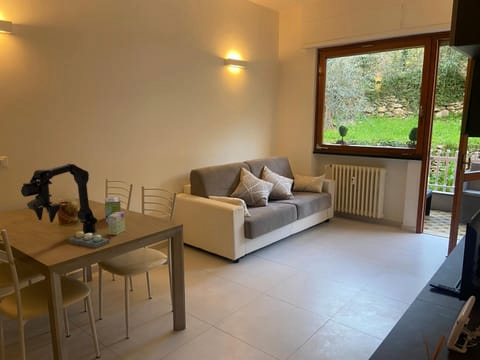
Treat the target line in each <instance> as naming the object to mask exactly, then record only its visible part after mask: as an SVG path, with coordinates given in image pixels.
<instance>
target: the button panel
mask: <svg viewBox="0 0 480 360" xmlns="http://www.w3.org/2000/svg"><path fill="white" fill-rule="evenodd" d="M93 236H94V235H92V238H93ZM101 240H102V241H101V242H94V240H93V239H92V240H85V238H80V239H77V238H76V235H74V236H70V237H68V238H67V242H68V243H71V244H76V245H79V246H80V245H81V246H85V247H88V248H89V247H90V248H95V249H97V248H100V247H102V246H105V245H106V244H110V243H111V242H110V239H109V238H104V237H101Z"/></svg>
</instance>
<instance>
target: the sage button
mask: <svg viewBox="0 0 480 360" xmlns="http://www.w3.org/2000/svg"><path fill="white" fill-rule="evenodd" d="M92 236H93V240H94V242H97V243H98V242H101V241H102V240H101V238H102V235H101V234H95V235H92Z"/></svg>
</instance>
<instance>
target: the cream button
mask: <svg viewBox="0 0 480 360" xmlns="http://www.w3.org/2000/svg"><path fill="white" fill-rule="evenodd" d="M92 236H93V233H86V234H85V233H84V238H85V240H92V239H93V238H92Z"/></svg>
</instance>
